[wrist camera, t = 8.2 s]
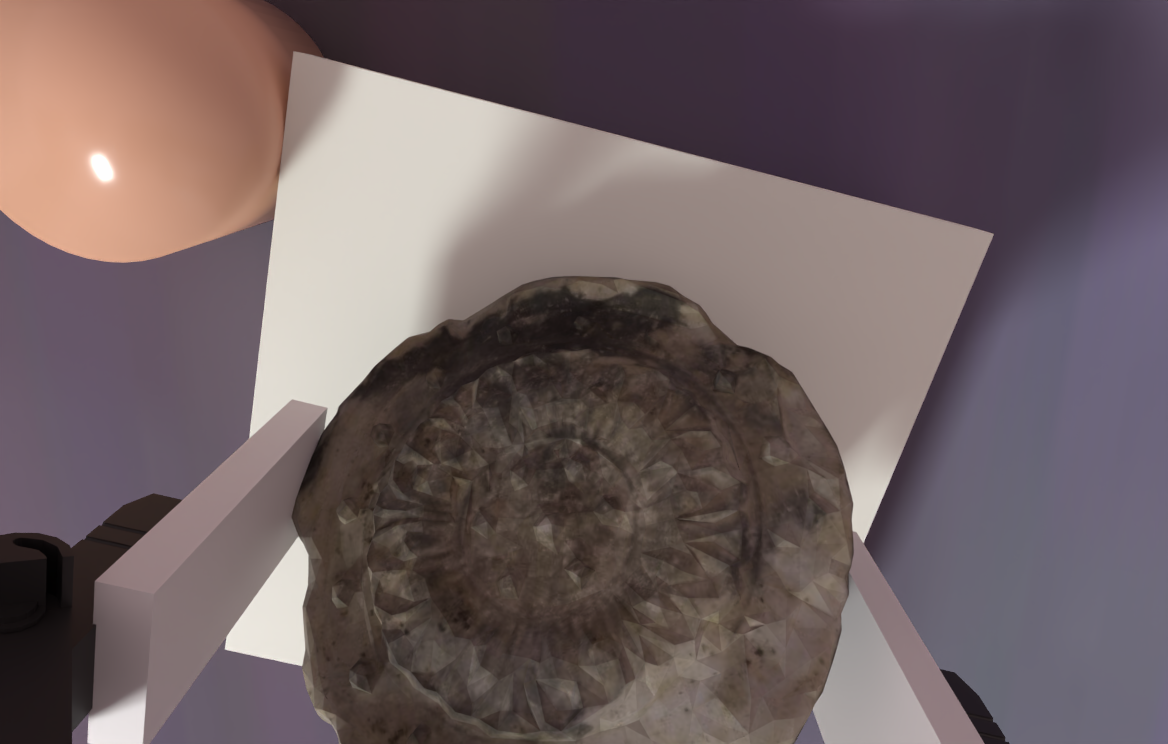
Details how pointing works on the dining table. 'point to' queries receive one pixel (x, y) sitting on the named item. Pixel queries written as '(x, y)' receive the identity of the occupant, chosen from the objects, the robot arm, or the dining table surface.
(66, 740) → the robot arm
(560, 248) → the stand
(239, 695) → the dining table surface
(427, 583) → the fossil
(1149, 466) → the dining table surface
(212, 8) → the peach rounded glossy part
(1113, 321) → the dining table surface
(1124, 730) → the dining table surface
